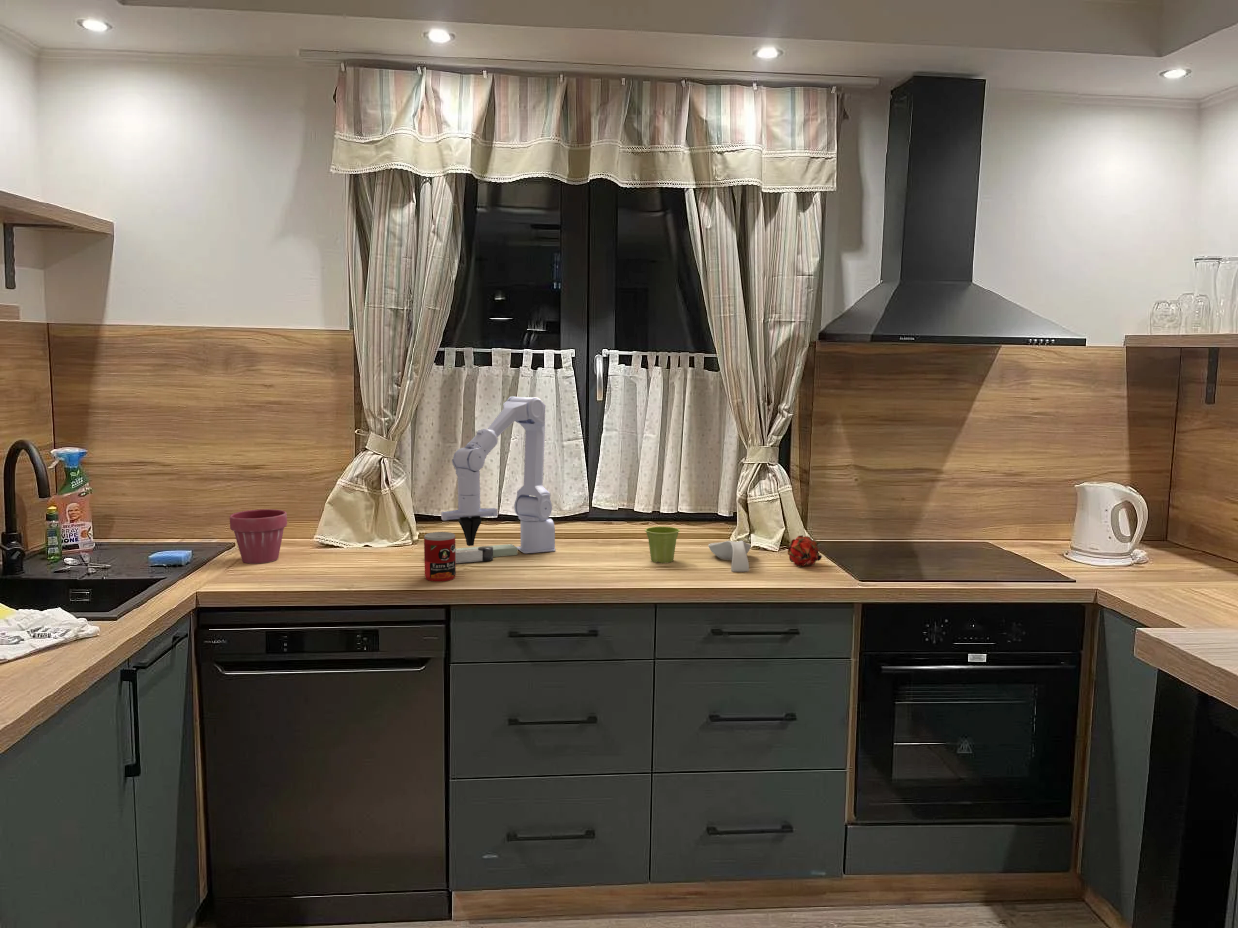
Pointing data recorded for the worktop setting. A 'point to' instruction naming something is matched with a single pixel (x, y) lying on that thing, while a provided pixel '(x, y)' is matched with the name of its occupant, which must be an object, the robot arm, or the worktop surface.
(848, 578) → the worktop surface
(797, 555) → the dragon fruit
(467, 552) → the latch bar
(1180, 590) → the worktop surface
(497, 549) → the pale green flat bar
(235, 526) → the plant pot
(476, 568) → the worktop surface
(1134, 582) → the worktop surface
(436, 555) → the canned food
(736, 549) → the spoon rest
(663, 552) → the plant pot
